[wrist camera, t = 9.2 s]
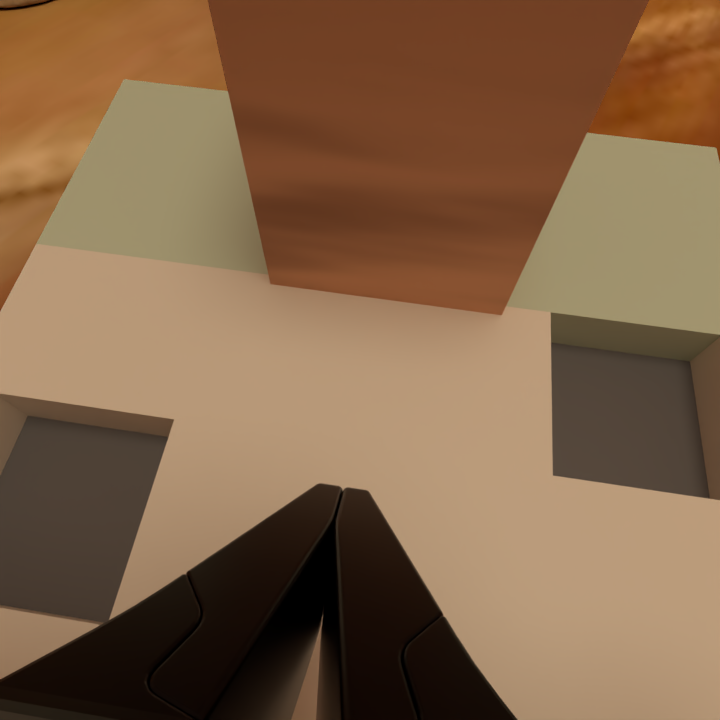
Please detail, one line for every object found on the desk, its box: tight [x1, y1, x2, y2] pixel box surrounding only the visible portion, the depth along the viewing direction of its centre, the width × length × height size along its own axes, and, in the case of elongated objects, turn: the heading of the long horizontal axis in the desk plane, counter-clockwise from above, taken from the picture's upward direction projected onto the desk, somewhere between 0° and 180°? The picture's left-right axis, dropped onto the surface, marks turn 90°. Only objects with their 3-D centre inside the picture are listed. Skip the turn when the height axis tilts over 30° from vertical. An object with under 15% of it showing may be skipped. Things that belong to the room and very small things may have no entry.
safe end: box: [37, 79, 720, 361], centre depth 19 cm, size 8×22×2 cm, turn 82°
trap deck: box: [0, 244, 720, 720], centre depth 14 cm, size 17×22×2 cm
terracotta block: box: [208, 0, 649, 315], centre depth 14 cm, size 7×7×10 cm
